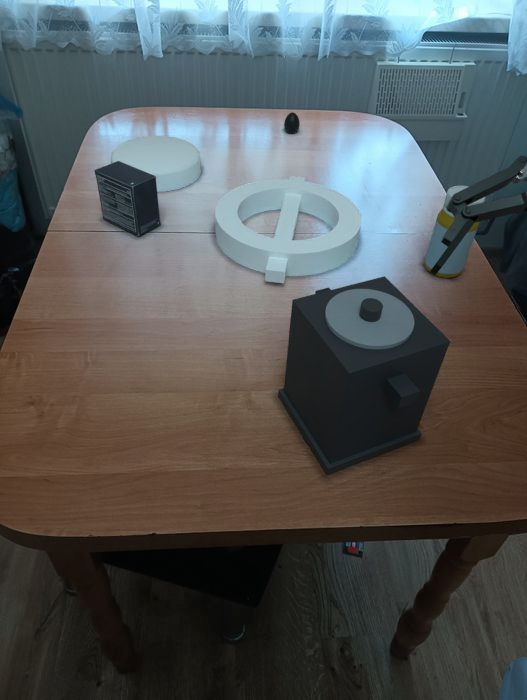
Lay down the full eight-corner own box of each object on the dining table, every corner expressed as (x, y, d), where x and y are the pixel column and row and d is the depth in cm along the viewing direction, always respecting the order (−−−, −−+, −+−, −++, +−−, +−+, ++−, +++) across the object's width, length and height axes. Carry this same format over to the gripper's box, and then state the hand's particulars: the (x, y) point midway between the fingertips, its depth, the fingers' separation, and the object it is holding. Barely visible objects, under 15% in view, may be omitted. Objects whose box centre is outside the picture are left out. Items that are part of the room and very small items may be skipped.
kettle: (436, 450, 70) (486, 338, 56) (335, 490, 65) (363, 378, 51) (357, 353, 83) (381, 242, 69) (268, 380, 78) (275, 267, 64)
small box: (163, 224, 107) (158, 174, 100) (139, 238, 104) (132, 187, 96) (126, 207, 112) (118, 158, 105) (101, 219, 108) (92, 169, 101)
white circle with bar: (297, 188, 121) (298, 168, 118) (387, 246, 105) (392, 224, 102) (188, 223, 108) (187, 201, 105) (272, 294, 92) (274, 271, 89)
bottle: (415, 266, 100) (436, 192, 90) (437, 253, 104) (460, 180, 93) (447, 284, 97) (472, 208, 86) (468, 270, 100) (496, 196, 90)
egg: (297, 135, 143) (299, 116, 139) (282, 133, 143) (283, 114, 140) (299, 129, 146) (301, 110, 142) (284, 128, 146) (286, 109, 143)
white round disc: (124, 151, 132) (121, 131, 128) (205, 155, 131) (205, 136, 128) (103, 189, 117) (99, 169, 114) (195, 194, 117) (194, 174, 114)
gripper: (668, 233, 63) (571, 377, 61) (485, 122, 67) (387, 253, 64) (718, 204, 56) (610, 367, 53) (510, 81, 60) (399, 227, 57)
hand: (487, 305), depth 59 cm, fingers open, 13 cm apart
